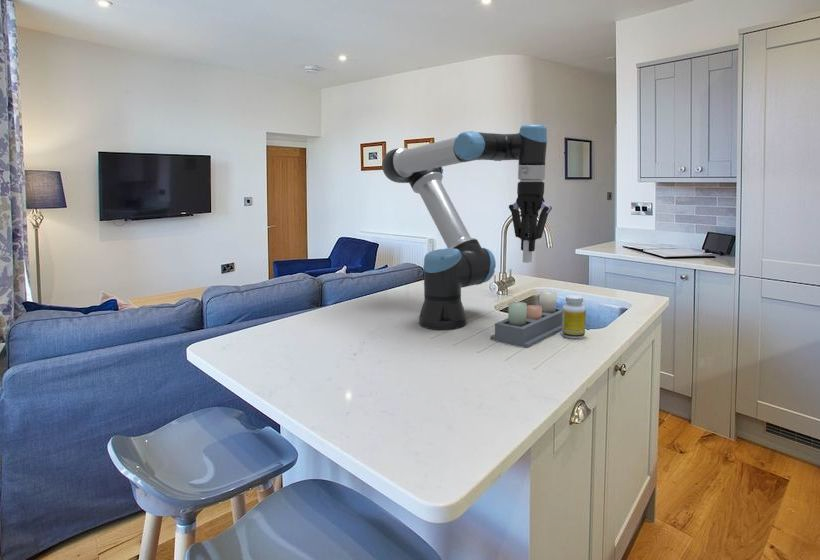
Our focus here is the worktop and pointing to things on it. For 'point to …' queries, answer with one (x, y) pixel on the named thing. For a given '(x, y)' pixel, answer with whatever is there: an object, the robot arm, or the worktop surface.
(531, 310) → the pink cylinder
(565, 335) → the pill bottle
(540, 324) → the button panel
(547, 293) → the button cream
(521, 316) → the button sage
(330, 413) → the worktop surface
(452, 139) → the robot arm
